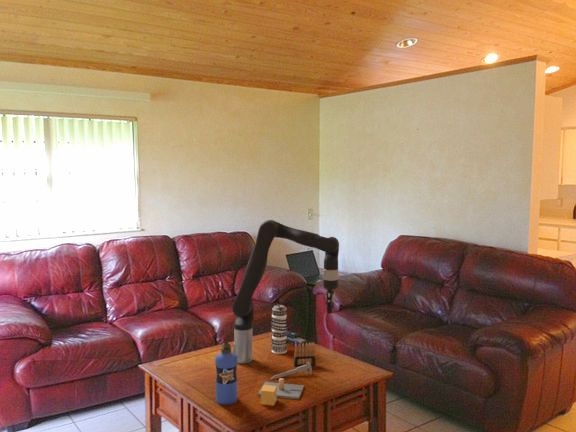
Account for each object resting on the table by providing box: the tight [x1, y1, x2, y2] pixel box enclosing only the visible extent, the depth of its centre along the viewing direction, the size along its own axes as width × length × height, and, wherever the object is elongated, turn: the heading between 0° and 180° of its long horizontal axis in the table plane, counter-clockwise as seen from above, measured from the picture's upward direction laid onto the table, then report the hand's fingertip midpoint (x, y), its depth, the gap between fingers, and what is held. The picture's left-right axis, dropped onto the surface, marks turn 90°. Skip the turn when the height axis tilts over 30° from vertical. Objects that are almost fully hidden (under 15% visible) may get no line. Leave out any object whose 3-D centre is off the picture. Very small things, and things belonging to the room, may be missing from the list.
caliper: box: [270, 362, 313, 380], centre depth 237 cm, size 20×1×6 cm, turn 108°
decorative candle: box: [270, 304, 289, 355], centre depth 269 cm, size 9×9×25 cm
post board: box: [257, 377, 305, 400], centre depth 220 cm, size 18×12×6 cm, turn 78°
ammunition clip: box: [293, 341, 316, 368], centre depth 249 cm, size 11×2×12 cm, turn 98°
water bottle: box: [214, 341, 238, 406], centre depth 211 cm, size 9×9×25 cm
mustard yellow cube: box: [260, 384, 278, 406], centre depth 210 cm, size 6×6×6 cm
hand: (330, 310), depth 244 cm, fingers open, 8 cm apart
